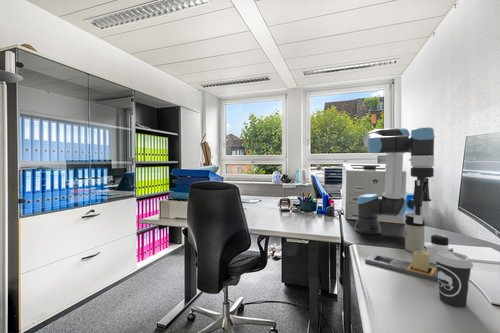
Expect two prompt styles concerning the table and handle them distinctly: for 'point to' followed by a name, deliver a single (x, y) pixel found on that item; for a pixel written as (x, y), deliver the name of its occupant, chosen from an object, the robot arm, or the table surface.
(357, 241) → the table surface
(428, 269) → the nut block
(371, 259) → the rail
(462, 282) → the coffee cup
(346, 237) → the table surface
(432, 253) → the medicine bottle
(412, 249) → the travel mug
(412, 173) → the robot arm
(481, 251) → the table surface
